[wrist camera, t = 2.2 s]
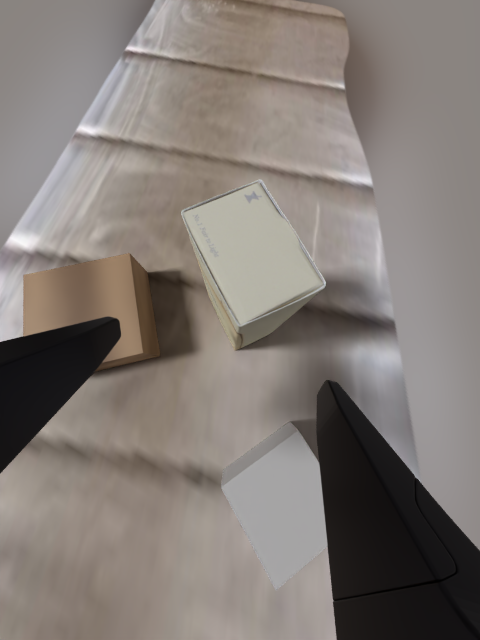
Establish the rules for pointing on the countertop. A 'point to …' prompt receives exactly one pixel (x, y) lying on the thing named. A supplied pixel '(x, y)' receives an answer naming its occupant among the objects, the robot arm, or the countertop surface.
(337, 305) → the countertop surface
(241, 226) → the skincare box
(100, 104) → the countertop surface
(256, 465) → the grey block
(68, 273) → the brown flat block
